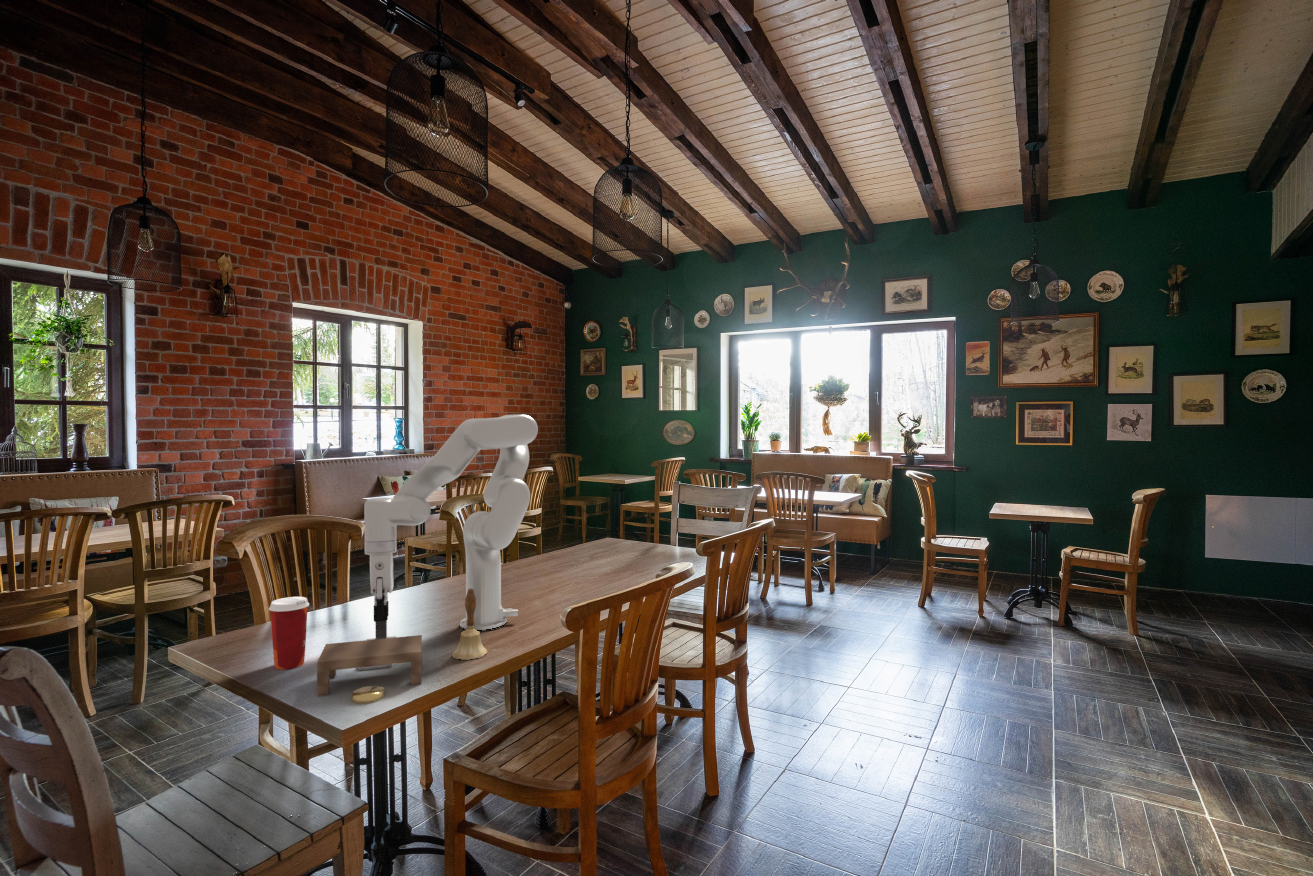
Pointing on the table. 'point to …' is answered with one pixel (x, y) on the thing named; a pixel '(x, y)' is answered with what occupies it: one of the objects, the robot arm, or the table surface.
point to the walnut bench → (368, 657)
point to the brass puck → (368, 694)
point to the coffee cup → (289, 631)
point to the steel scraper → (380, 634)
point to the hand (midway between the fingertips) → (381, 618)
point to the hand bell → (469, 634)
